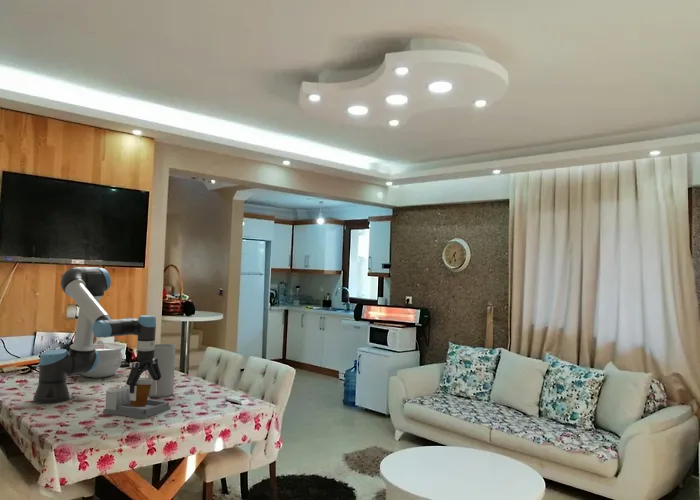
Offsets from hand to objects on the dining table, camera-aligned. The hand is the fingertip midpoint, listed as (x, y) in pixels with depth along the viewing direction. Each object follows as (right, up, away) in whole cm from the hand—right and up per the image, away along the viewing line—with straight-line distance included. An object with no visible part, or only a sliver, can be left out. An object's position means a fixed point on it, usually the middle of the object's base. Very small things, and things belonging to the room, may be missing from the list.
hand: (143, 397), depth 245 cm
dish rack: (-3, -6, +1) cm, 7 cm away
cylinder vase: (-4, -8, +33) cm, 34 cm away
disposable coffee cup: (-1, -3, -3) cm, 5 cm away
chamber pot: (-55, -8, +75) cm, 93 cm away
